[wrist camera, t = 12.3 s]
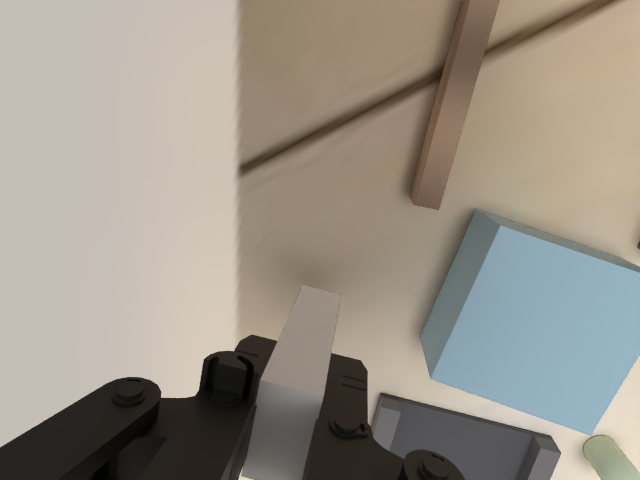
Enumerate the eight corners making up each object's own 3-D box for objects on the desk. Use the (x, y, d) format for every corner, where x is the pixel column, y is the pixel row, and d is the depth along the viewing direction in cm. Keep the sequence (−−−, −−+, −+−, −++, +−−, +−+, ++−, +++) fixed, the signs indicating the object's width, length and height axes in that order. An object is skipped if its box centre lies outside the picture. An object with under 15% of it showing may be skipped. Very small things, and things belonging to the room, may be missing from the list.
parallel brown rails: (496, -131, 16) (518, -177, 14) (806, -76, 15) (887, -116, 13) (409, 196, 20) (414, 204, 17) (660, 252, 19) (702, 269, 16)
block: (474, 208, 20) (500, 225, 16) (618, 257, 19) (680, 286, 16) (419, 335, 21) (430, 378, 18) (550, 381, 21) (590, 435, 17)
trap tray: (380, 393, 22) (381, 407, 21) (551, 436, 22) (561, 453, 21) (351, 496, 24) (350, 514, 23) (507, 538, 24) (514, 559, 22)
